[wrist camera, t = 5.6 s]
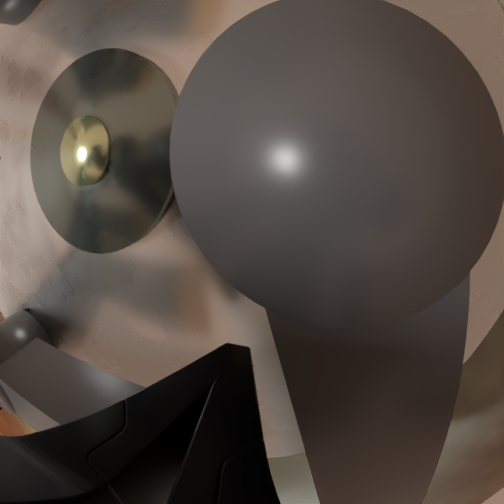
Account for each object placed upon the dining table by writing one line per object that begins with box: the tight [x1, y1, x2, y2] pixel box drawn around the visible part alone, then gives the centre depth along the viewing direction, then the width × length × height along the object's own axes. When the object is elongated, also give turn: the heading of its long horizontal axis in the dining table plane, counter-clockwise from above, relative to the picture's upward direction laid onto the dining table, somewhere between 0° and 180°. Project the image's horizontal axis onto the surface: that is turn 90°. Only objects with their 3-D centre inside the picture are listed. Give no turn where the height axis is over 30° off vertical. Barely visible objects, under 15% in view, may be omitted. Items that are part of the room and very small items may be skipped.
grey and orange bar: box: [170, 0, 504, 504], centre depth 5 cm, size 11×4×4 cm, turn 16°
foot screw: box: [0, 310, 146, 432], centre depth 9 cm, size 11×4×4 cm, turn 87°
